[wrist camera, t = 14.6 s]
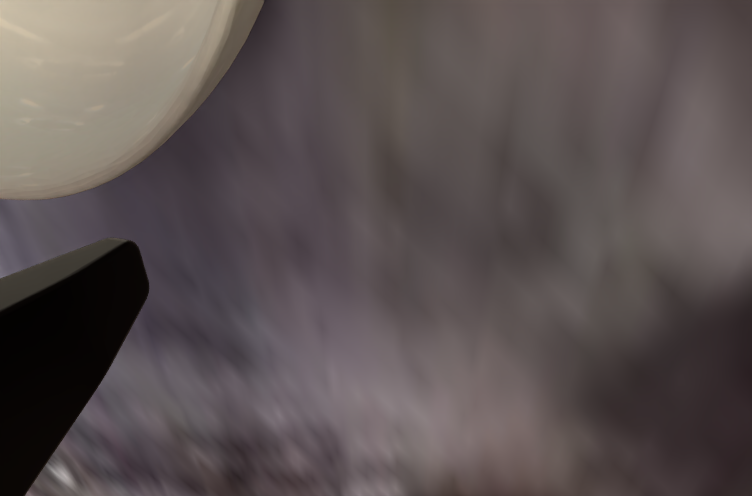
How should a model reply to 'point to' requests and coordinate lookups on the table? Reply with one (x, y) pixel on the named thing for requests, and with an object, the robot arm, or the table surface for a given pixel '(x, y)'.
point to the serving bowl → (104, 84)
